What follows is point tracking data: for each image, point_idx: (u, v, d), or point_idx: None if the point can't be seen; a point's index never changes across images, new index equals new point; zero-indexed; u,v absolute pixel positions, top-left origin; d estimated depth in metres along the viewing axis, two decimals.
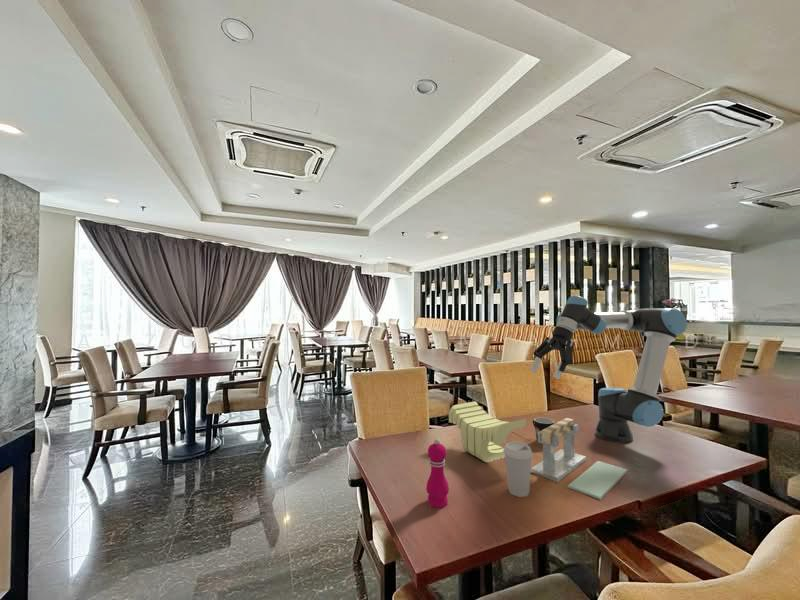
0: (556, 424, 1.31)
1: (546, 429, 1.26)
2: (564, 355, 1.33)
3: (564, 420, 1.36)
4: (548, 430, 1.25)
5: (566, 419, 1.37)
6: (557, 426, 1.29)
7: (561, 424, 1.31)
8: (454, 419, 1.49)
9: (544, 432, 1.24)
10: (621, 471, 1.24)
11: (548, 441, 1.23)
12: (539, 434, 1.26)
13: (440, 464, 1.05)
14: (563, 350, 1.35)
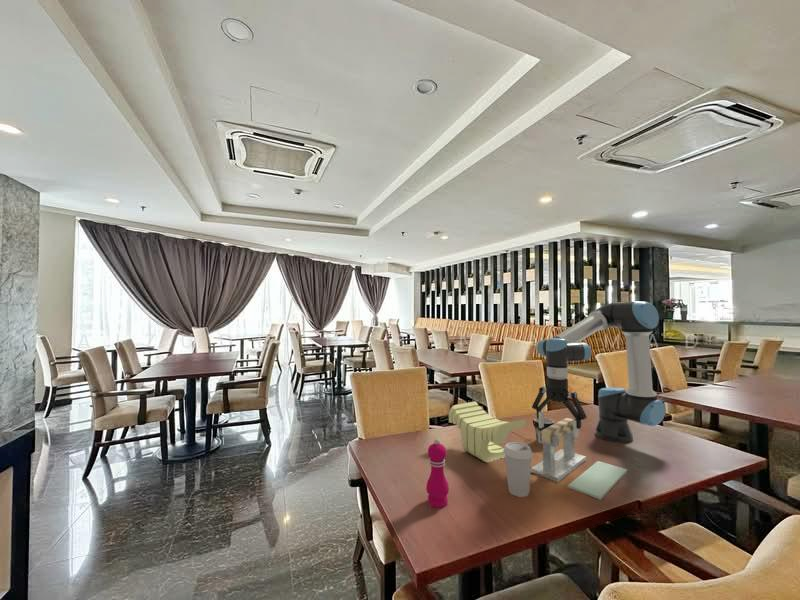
0: (556, 424, 1.31)
1: (546, 429, 1.26)
2: (573, 410, 1.26)
3: (564, 420, 1.36)
4: (548, 430, 1.25)
5: (566, 419, 1.37)
6: (557, 426, 1.29)
7: (561, 424, 1.31)
8: (454, 419, 1.49)
9: (544, 432, 1.24)
10: (621, 471, 1.24)
11: (548, 441, 1.23)
12: (539, 434, 1.26)
13: (440, 464, 1.05)
14: (569, 403, 1.28)
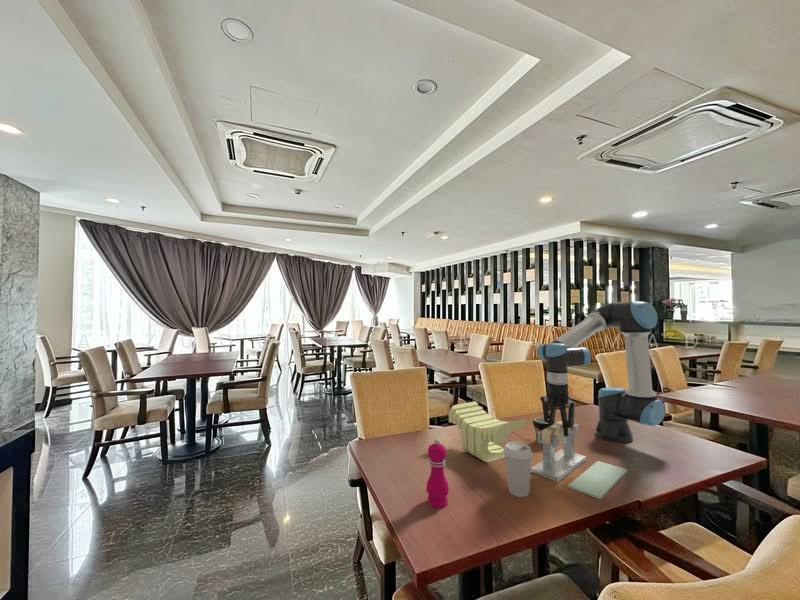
0: (556, 424, 1.31)
1: (546, 429, 1.26)
2: (565, 418, 1.29)
3: None
4: (548, 430, 1.25)
5: None
6: (557, 426, 1.29)
7: (561, 424, 1.31)
8: (454, 419, 1.49)
9: (544, 432, 1.24)
10: (621, 471, 1.24)
11: (548, 441, 1.23)
12: (539, 434, 1.26)
13: (440, 464, 1.05)
14: (564, 411, 1.29)
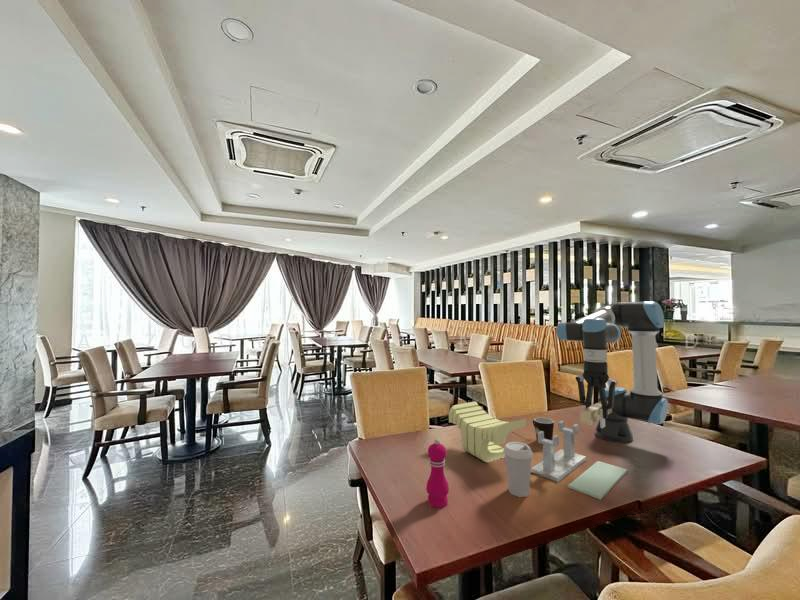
0: (594, 406, 1.21)
1: (585, 410, 1.16)
2: (604, 399, 1.18)
3: None
4: (587, 411, 1.15)
5: None
6: (595, 408, 1.18)
7: (599, 406, 1.21)
8: (454, 419, 1.49)
9: (583, 413, 1.14)
10: (621, 471, 1.24)
11: (588, 422, 1.12)
12: (539, 434, 1.26)
13: (440, 464, 1.05)
14: (603, 391, 1.19)
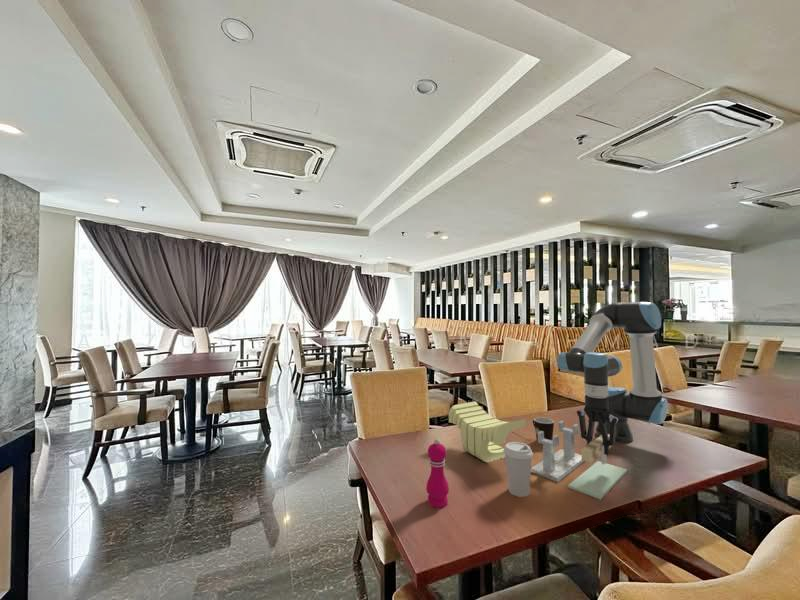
0: (595, 441, 1.21)
1: (586, 447, 1.15)
2: (606, 435, 1.18)
3: None
4: (589, 448, 1.14)
5: None
6: (597, 444, 1.18)
7: (600, 441, 1.20)
8: (454, 419, 1.49)
9: (584, 451, 1.13)
10: (621, 471, 1.24)
11: (589, 461, 1.12)
12: (539, 434, 1.26)
13: (440, 464, 1.05)
14: (604, 426, 1.19)
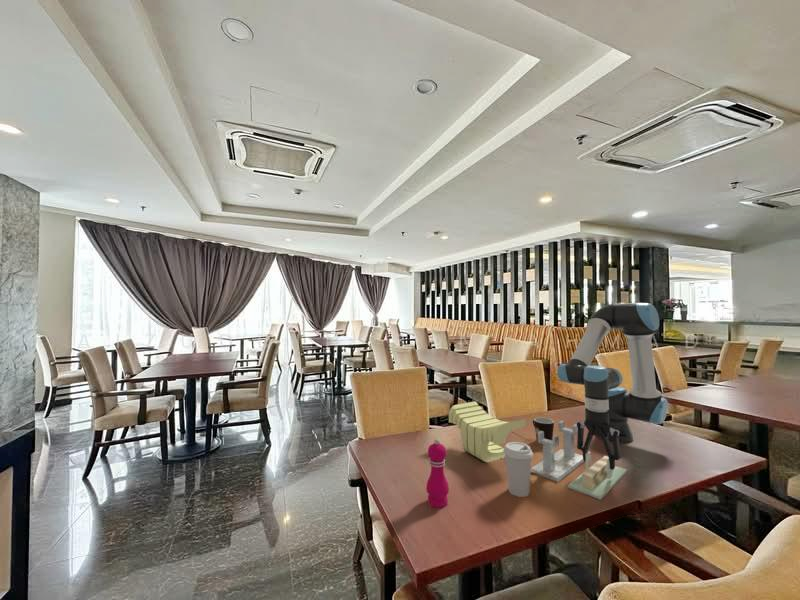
0: (596, 465, 1.20)
1: (587, 472, 1.15)
2: (610, 449, 1.17)
3: (603, 459, 1.25)
4: (590, 473, 1.14)
5: (605, 458, 1.26)
6: (598, 468, 1.18)
7: (601, 465, 1.20)
8: (454, 419, 1.49)
9: (585, 476, 1.13)
10: (621, 471, 1.24)
11: (590, 487, 1.12)
12: (539, 434, 1.26)
13: (440, 464, 1.05)
14: (607, 440, 1.18)
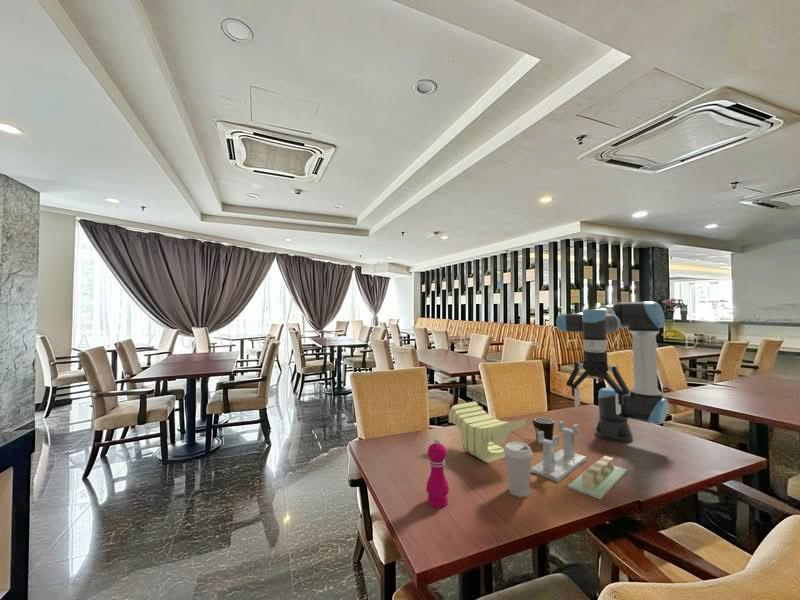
0: (596, 465, 1.20)
1: (587, 472, 1.15)
2: (615, 385, 1.16)
3: (603, 459, 1.25)
4: (590, 473, 1.14)
5: (605, 458, 1.26)
6: (598, 468, 1.18)
7: (601, 465, 1.20)
8: (454, 419, 1.49)
9: (585, 476, 1.13)
10: (621, 471, 1.24)
11: (590, 487, 1.12)
12: (539, 434, 1.26)
13: (440, 464, 1.05)
14: (609, 378, 1.18)
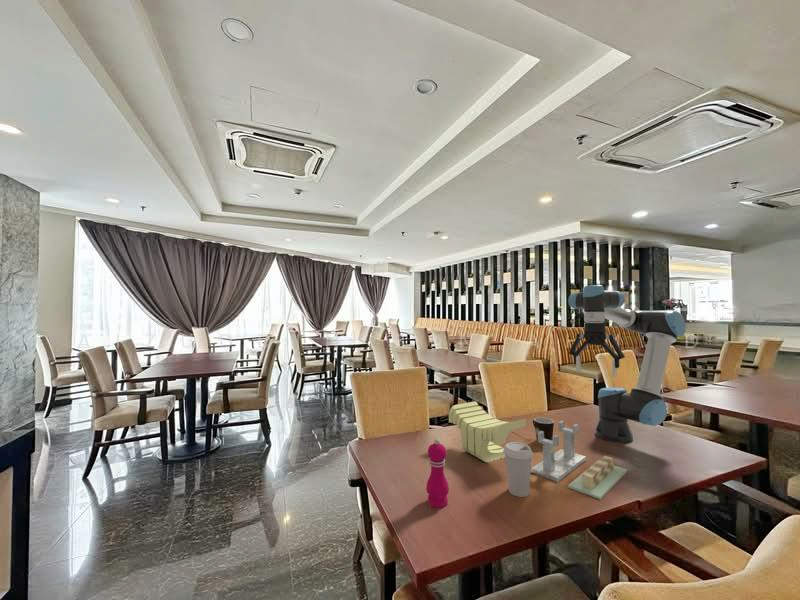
0: (596, 465, 1.20)
1: (587, 472, 1.15)
2: (612, 351, 1.33)
3: (603, 459, 1.25)
4: (590, 473, 1.14)
5: (605, 458, 1.26)
6: (598, 468, 1.18)
7: (601, 465, 1.20)
8: (454, 419, 1.49)
9: (585, 476, 1.13)
10: (621, 471, 1.24)
11: (590, 487, 1.12)
12: (539, 434, 1.26)
13: (440, 464, 1.05)
14: (607, 345, 1.34)
